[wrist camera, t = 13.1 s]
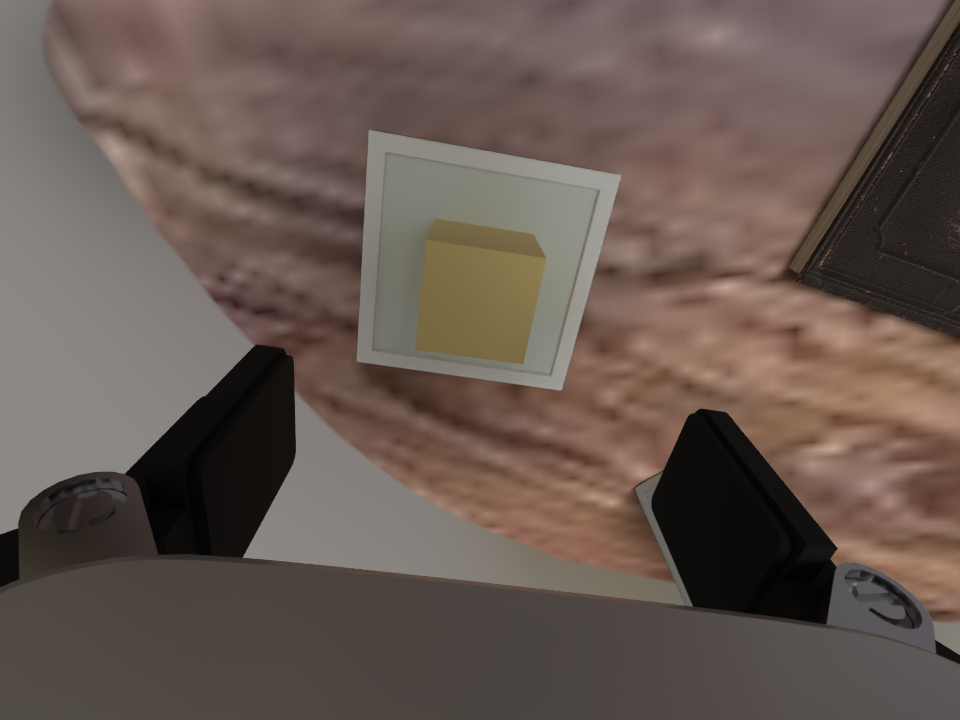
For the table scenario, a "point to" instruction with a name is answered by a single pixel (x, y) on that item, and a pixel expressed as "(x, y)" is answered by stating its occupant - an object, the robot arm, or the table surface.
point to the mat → (486, 202)
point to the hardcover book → (901, 201)
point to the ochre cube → (479, 291)
